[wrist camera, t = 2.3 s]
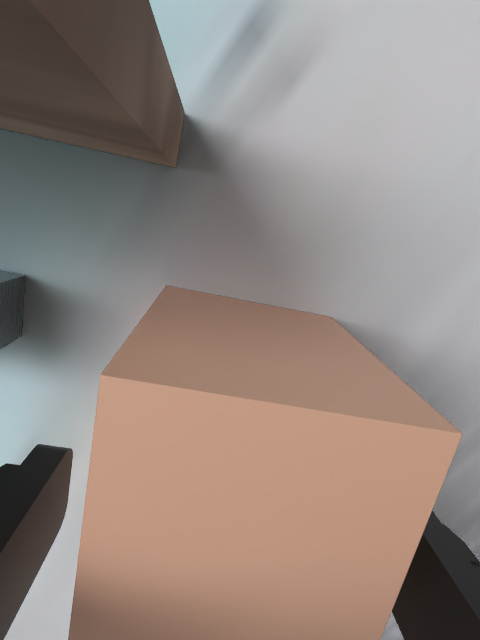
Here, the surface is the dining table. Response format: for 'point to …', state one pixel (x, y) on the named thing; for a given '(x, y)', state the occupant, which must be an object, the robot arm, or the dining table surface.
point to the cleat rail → (11, 306)
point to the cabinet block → (251, 479)
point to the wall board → (89, 77)
